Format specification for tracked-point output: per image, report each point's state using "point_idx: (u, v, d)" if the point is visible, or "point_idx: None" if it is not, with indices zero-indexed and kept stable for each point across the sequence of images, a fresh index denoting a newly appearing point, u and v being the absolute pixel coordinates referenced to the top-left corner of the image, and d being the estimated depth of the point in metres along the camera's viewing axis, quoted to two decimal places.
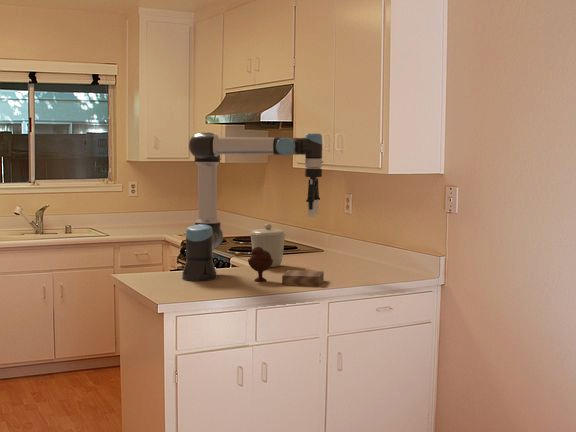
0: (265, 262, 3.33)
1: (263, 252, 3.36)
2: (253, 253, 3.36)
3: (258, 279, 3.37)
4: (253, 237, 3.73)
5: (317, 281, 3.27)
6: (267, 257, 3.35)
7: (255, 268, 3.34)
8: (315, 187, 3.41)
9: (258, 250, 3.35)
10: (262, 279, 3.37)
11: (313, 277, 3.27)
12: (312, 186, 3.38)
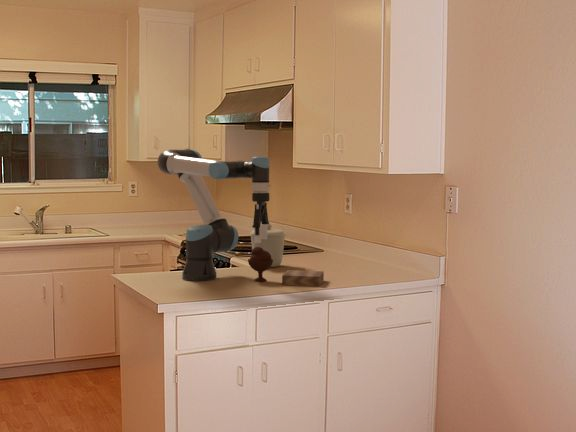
0: (265, 262, 3.33)
1: (263, 252, 3.36)
2: (253, 253, 3.36)
3: (258, 279, 3.37)
4: (253, 237, 3.73)
5: (317, 281, 3.27)
6: (267, 257, 3.35)
7: (255, 268, 3.34)
8: (262, 212, 3.31)
9: (258, 250, 3.35)
10: (262, 279, 3.37)
11: (313, 277, 3.27)
12: (258, 211, 3.28)
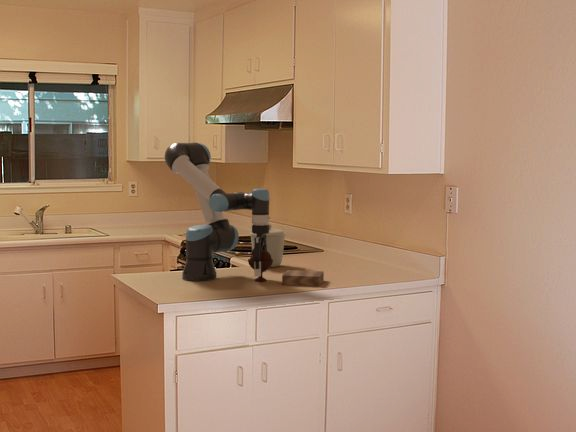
0: (265, 262, 3.33)
1: (263, 252, 3.36)
2: (253, 253, 3.36)
3: (258, 279, 3.37)
4: (253, 237, 3.73)
5: (317, 281, 3.27)
6: (267, 257, 3.35)
7: None
8: (262, 245, 3.33)
9: None
10: (262, 279, 3.37)
11: (313, 277, 3.27)
12: (258, 245, 3.30)
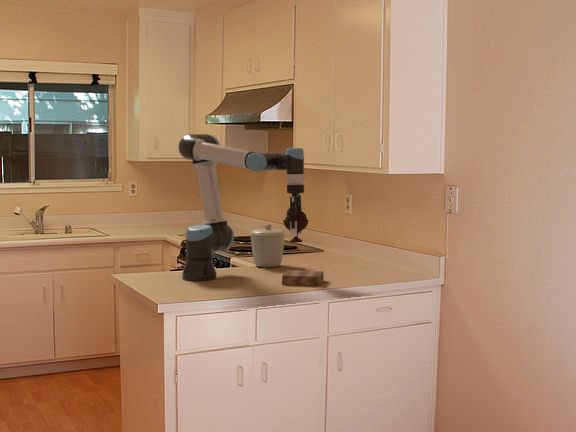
0: (301, 222, 3.28)
1: (298, 212, 3.31)
2: (288, 213, 3.31)
3: (294, 240, 3.32)
4: (253, 237, 3.73)
5: (317, 281, 3.27)
6: (303, 217, 3.30)
7: None
8: (297, 204, 3.29)
9: None
10: (298, 239, 3.32)
11: (313, 277, 3.27)
12: (294, 204, 3.25)
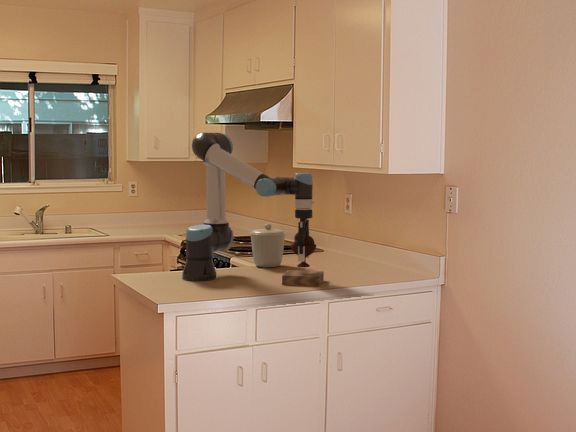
0: (309, 247, 3.29)
1: (306, 237, 3.32)
2: (296, 238, 3.32)
3: (301, 264, 3.33)
4: (253, 237, 3.73)
5: (317, 281, 3.27)
6: (311, 242, 3.31)
7: None
8: (305, 229, 3.29)
9: None
10: (305, 264, 3.33)
11: (313, 277, 3.27)
12: (302, 229, 3.26)
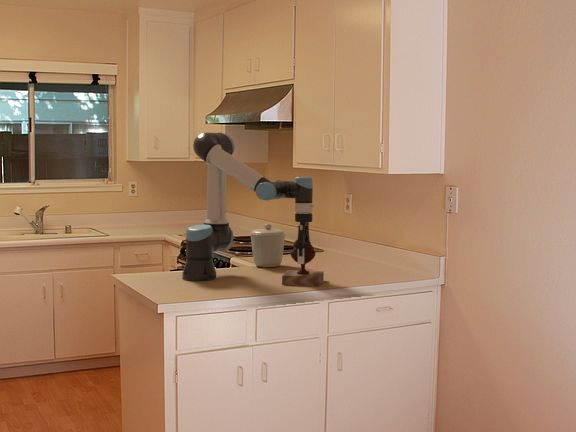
0: (308, 254, 3.29)
1: (306, 244, 3.32)
2: (295, 245, 3.32)
3: (301, 271, 3.33)
4: (253, 237, 3.73)
5: (317, 281, 3.27)
6: (310, 249, 3.31)
7: None
8: (305, 233, 3.29)
9: None
10: (305, 271, 3.33)
11: (313, 277, 3.27)
12: (302, 232, 3.26)
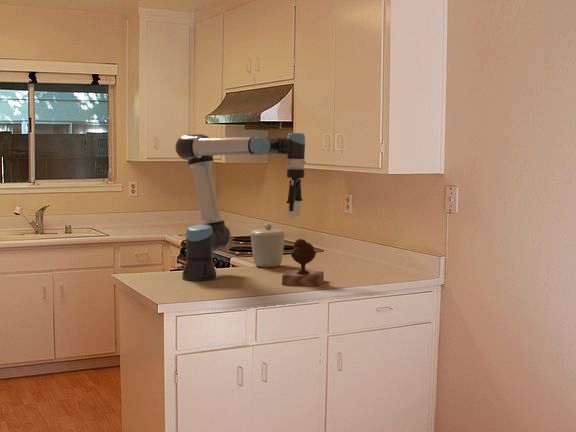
0: (308, 254, 3.29)
1: (306, 244, 3.32)
2: (296, 245, 3.32)
3: (301, 271, 3.33)
4: (253, 237, 3.73)
5: (317, 281, 3.27)
6: (310, 249, 3.31)
7: (298, 260, 3.31)
8: (296, 188, 3.32)
9: (301, 242, 3.31)
10: (305, 271, 3.33)
11: (313, 277, 3.27)
12: (293, 187, 3.29)
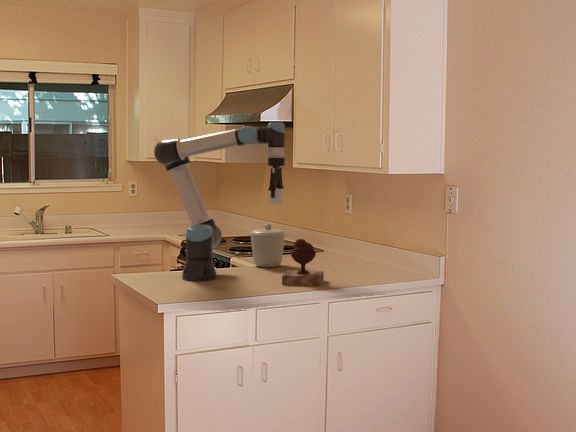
0: (308, 254, 3.29)
1: (306, 244, 3.32)
2: (296, 245, 3.32)
3: (301, 271, 3.33)
4: (253, 237, 3.73)
5: (317, 281, 3.27)
6: (310, 249, 3.31)
7: (298, 260, 3.31)
8: (277, 176, 3.44)
9: (301, 242, 3.31)
10: (305, 271, 3.33)
11: (313, 277, 3.27)
12: (274, 175, 3.41)
